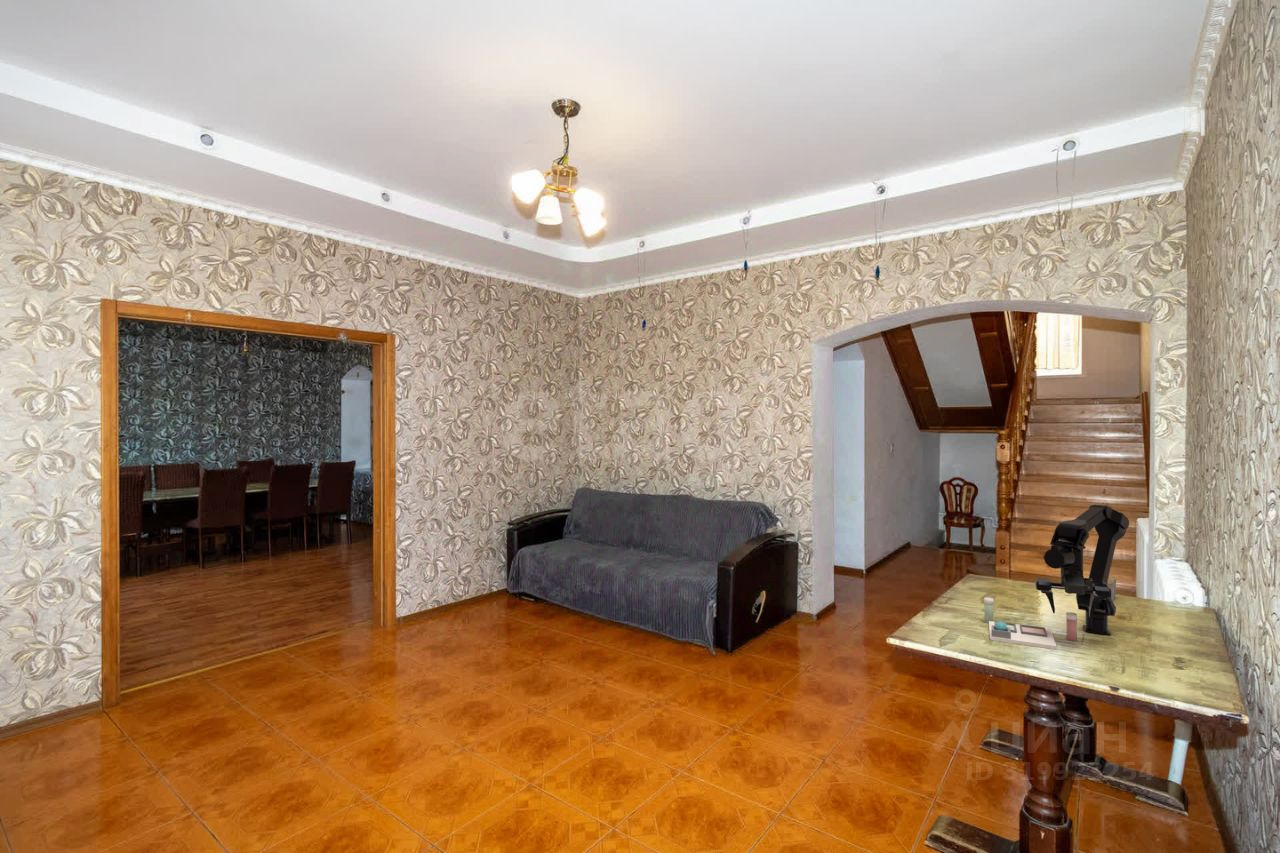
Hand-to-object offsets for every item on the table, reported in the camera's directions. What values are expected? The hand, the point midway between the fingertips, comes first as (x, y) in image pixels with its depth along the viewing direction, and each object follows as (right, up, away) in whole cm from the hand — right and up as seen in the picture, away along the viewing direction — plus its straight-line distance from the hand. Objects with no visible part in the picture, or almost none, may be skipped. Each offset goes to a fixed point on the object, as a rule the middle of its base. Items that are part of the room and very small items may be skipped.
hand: (1071, 615), depth 189 cm
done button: (-21, -5, +1) cm, 22 cm away
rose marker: (0, -8, 0) cm, 8 cm away
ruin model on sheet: (+43, -8, +42) cm, 61 cm away
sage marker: (-16, -8, +17) cm, 24 cm away
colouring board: (-14, -8, +3) cm, 16 cm away
